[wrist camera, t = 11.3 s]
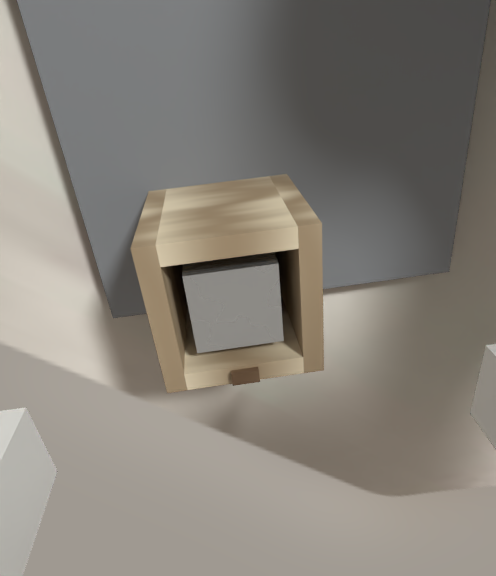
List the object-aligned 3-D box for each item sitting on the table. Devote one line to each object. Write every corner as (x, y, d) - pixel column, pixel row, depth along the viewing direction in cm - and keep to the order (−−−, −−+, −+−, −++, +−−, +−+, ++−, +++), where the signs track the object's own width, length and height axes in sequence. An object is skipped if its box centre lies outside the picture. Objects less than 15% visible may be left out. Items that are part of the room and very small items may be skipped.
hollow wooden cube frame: (286, 174, 22) (324, 226, 16) (292, 292, 25) (325, 374, 19) (148, 191, 22) (129, 251, 15) (173, 308, 25) (166, 398, 19)
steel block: (254, 200, 24) (278, 263, 17) (260, 261, 26) (283, 340, 19) (185, 209, 24) (182, 276, 17) (196, 270, 26) (197, 353, 19)
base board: (493, -155, 18) (516, -170, 16) (437, 260, 27) (449, 271, 26) (-4, -108, 17) (-20, -121, 16) (117, 304, 26) (113, 318, 25)
